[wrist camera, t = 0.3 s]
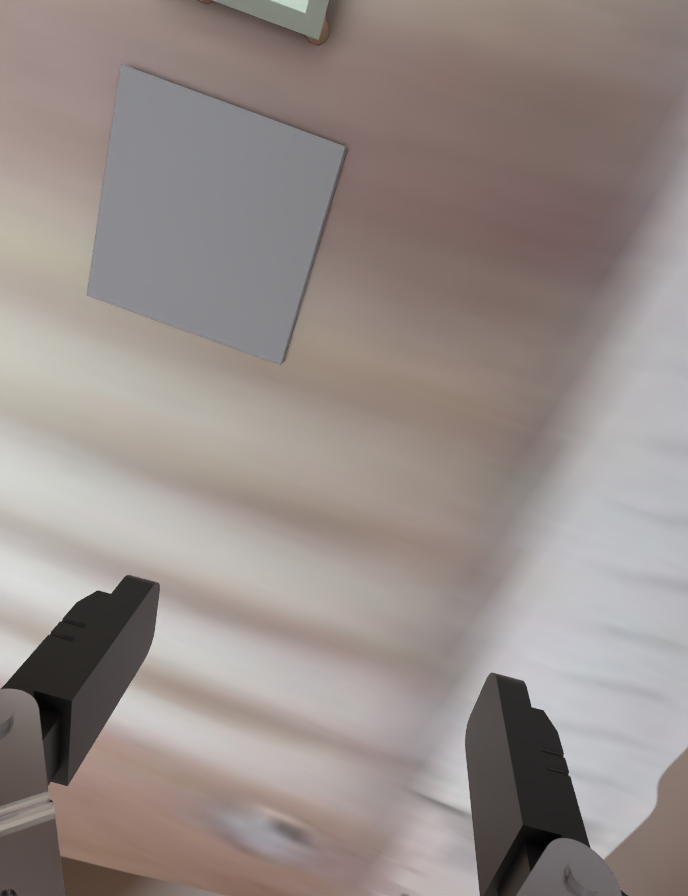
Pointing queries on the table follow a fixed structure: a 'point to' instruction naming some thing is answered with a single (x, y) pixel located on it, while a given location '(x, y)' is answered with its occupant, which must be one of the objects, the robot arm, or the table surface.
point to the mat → (209, 215)
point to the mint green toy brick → (288, 15)
